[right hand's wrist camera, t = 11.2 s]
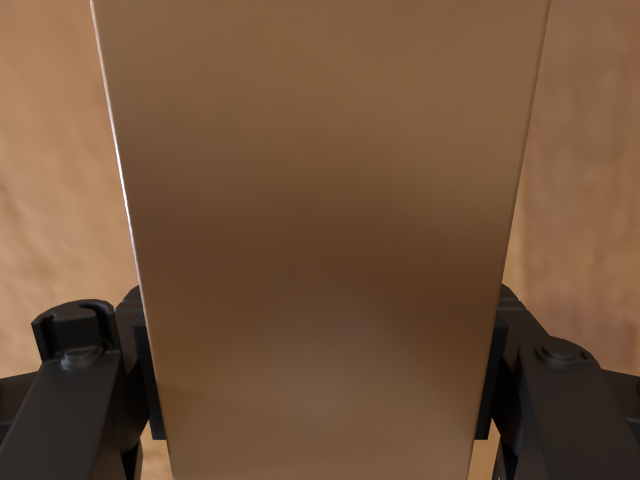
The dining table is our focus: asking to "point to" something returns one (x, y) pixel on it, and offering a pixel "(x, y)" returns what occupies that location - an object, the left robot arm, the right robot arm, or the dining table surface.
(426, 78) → the bar
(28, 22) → the dining table surface
